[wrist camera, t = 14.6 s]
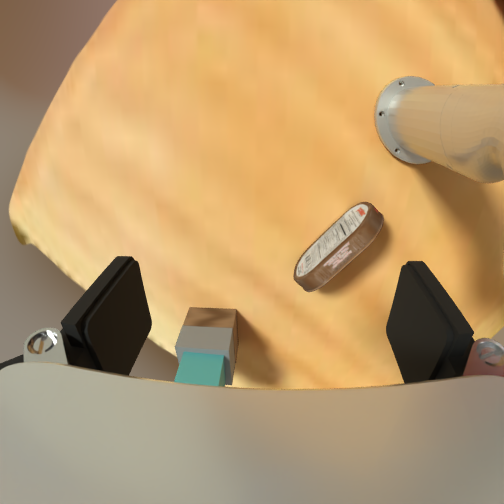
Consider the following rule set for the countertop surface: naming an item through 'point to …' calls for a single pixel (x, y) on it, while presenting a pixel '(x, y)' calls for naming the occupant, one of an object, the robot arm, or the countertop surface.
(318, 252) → the tin
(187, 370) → the teal cube
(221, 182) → the countertop surface
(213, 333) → the block
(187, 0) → the countertop surface
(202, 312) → the tower base
